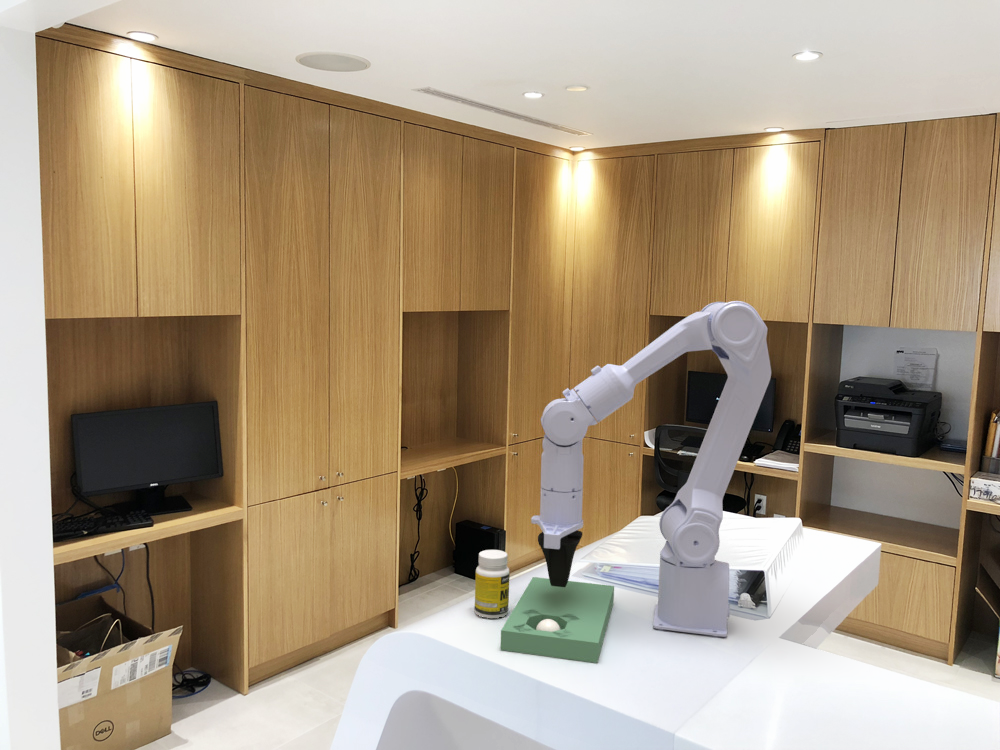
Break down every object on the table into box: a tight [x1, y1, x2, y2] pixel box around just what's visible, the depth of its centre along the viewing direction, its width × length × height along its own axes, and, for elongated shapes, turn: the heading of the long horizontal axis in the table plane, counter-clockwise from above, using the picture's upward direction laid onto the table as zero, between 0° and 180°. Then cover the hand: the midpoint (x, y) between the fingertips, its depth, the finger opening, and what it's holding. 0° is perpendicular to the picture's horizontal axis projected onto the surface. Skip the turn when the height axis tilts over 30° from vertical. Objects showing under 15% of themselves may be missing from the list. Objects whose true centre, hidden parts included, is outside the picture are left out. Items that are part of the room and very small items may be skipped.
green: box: [500, 576, 615, 664], centre depth 103 cm, size 12×20×2 cm, turn 166°
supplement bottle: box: [474, 549, 511, 619], centre depth 106 cm, size 5×5×8 cm
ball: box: [536, 619, 561, 632], centre depth 97 cm, size 3×3×3 cm
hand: (559, 585), depth 105 cm, fingers closed
